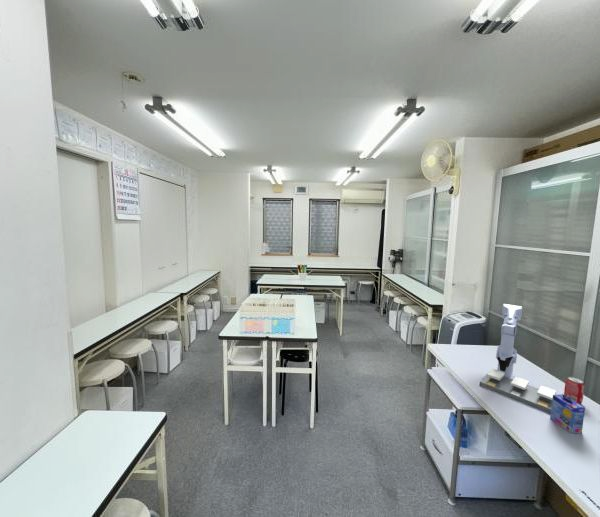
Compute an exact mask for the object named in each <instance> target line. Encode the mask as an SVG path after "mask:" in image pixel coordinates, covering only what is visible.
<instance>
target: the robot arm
mask: <svg viewBox="0 0 600 517" xmlns="http://www.w3.org/2000/svg"><path fill="white" fill-rule="evenodd" d="M522 314H523V306H521V305H514V304H507V303H503V304H502V308H501V316H502V318H503V322H502V323H503V324H502V325H501V329H500V330H501V331H500V333H501V335H500V336H501V339H500V345H498V347H497V349H496V354H495V355H496V356H495V358H496V359H497V367H496V368H497V369H496V370H498V371H501V372H504V373H505V375H504V377H507V378H510V379H514V376H515V374H514V373H513V372H514V364H516V363H517V358H518V351H517V349H515V347H514V345H515V344H514V343H515V337H516V335H517V322H518V321H521V319H522V316H523V315H522Z"/></svg>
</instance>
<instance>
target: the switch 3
mask: <svg viewBox="0 0 600 517" xmlns="http://www.w3.org/2000/svg"><path fill="white" fill-rule="evenodd" d="M538 389H539V390H538V392H537V395H540V396H542V397H545V398H548V399H551V400H552V399H553V395H557V394H556V393H557V390H555V389H553V388H550V387H547V386H544V385H540V387H539V388H538Z"/></svg>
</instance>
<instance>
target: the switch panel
mask: <svg viewBox="0 0 600 517" xmlns="http://www.w3.org/2000/svg"><path fill="white" fill-rule="evenodd" d="M513 379H514V378H512V379H510V378H507V377H504V376H503V378H502V379H501V380H500V381H499V380H496V379H494V378H491V377H488V376H487V374H486V375H485V376H484V377H483V378H482V379H481V380H480V381H479V386H481V387H483V388H487V389H489V390H491V391H493V392H497V393H499V394H501V395H504V396H507V397H509V398H511V399H514V400H516V401H519V402H521V403H524V404H526V405H529V406H531V407H534V408H537V409H538V410H541V411H544V412H547V413H549V414H551V407H552V400H551V399H548V398H545V397H542V396H540V395H537V392H538V390H539V388H538V387H534V386H532V385H529V384H528V386H527V387H526V389H525V390H523V389H521V388H518V387H515V386H513V385H511V382H512V381H513Z"/></svg>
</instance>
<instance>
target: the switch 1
mask: <svg viewBox="0 0 600 517" xmlns="http://www.w3.org/2000/svg"><path fill="white" fill-rule="evenodd" d="M486 375H487V376H488V377H491V378H494V379H496V380H499V381H500V380H501V379H502V378H503V376H504V375H505V373H504V372H501V371H498V370H497V369H495V368H492V369H491V370H490V371H489V372H488V373H487V374H486Z"/></svg>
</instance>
